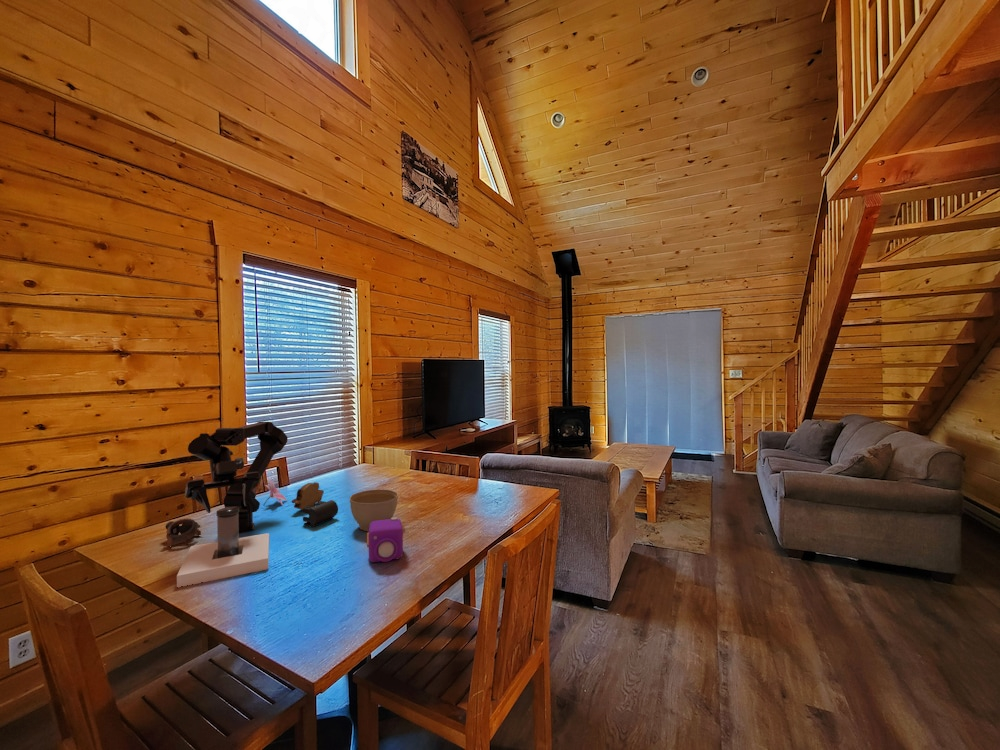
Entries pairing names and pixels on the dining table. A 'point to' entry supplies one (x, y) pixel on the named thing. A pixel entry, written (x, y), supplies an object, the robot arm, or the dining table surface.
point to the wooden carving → (308, 495)
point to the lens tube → (228, 531)
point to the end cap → (320, 513)
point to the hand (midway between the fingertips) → (228, 508)
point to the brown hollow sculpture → (181, 531)
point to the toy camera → (385, 540)
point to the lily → (275, 493)
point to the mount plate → (224, 561)
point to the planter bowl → (373, 506)
